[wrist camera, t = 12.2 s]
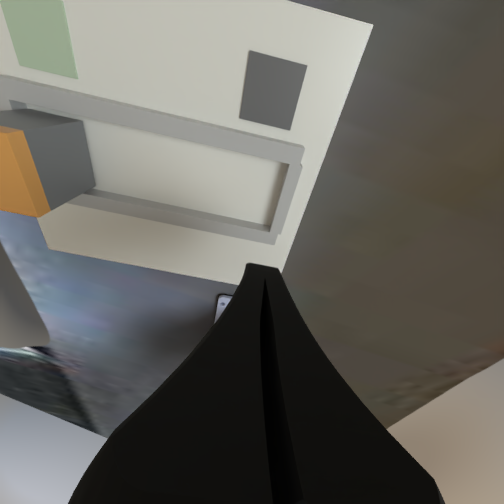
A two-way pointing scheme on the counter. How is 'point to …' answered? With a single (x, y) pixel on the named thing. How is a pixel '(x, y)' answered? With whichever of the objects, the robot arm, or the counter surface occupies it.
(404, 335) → the counter surface
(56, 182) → the knob
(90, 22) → the switch panel
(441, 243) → the counter surface
